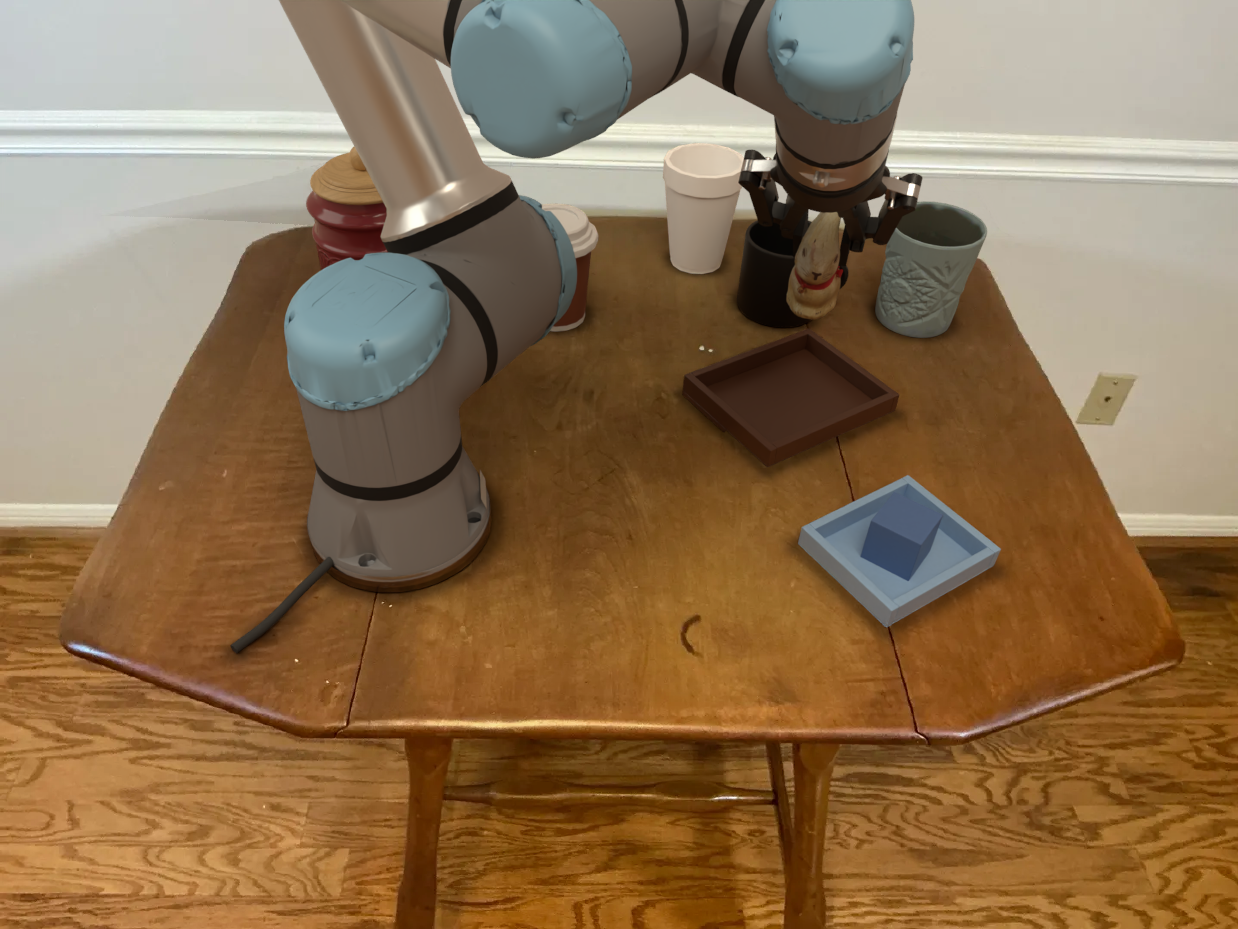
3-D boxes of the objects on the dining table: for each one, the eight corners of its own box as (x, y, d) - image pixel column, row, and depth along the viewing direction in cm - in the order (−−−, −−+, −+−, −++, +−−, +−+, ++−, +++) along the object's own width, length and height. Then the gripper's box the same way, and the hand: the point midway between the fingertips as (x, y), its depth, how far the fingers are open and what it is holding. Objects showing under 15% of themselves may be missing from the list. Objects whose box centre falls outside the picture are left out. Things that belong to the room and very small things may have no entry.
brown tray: (766, 471, 88) (770, 450, 87) (682, 394, 97) (683, 374, 95) (894, 414, 95) (900, 394, 94) (805, 347, 104) (808, 327, 102)
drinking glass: (945, 296, 112) (974, 202, 104) (967, 345, 105) (999, 248, 97) (860, 293, 112) (882, 199, 104) (876, 341, 105) (901, 244, 97)
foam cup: (651, 244, 120) (657, 144, 111) (722, 239, 121) (733, 141, 112) (667, 283, 113) (675, 180, 104) (742, 278, 114) (756, 175, 106)
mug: (841, 335, 106) (857, 264, 100) (734, 324, 107) (743, 252, 101) (839, 291, 113) (854, 222, 107) (738, 281, 114) (747, 211, 108)
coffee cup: (558, 285, 112) (557, 190, 104) (613, 316, 107) (616, 219, 99) (499, 314, 107) (493, 216, 99) (554, 348, 102) (552, 248, 94)
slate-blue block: (908, 581, 78) (921, 545, 75) (860, 557, 80) (870, 520, 77) (930, 551, 81) (943, 514, 78) (882, 527, 82) (894, 491, 80)
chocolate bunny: (761, 304, 84) (776, 199, 78) (810, 272, 89) (828, 171, 82) (813, 328, 82) (833, 222, 75) (860, 294, 86) (884, 191, 80)
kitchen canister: (304, 289, 109) (271, 141, 98) (400, 253, 116) (381, 110, 104) (363, 338, 102) (336, 185, 91) (462, 297, 109) (448, 150, 97)
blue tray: (884, 632, 75) (891, 611, 73) (796, 547, 81) (801, 526, 79) (992, 570, 80) (1001, 549, 78) (901, 495, 86) (908, 474, 85)
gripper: (700, 175, 65) (725, 271, 88) (946, 214, 61) (905, 303, 84) (724, 70, 65) (743, 193, 88) (971, 103, 62) (923, 222, 85)
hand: (822, 247), depth 86 cm, fingers closed on chocolate bunny, 3 cm apart
